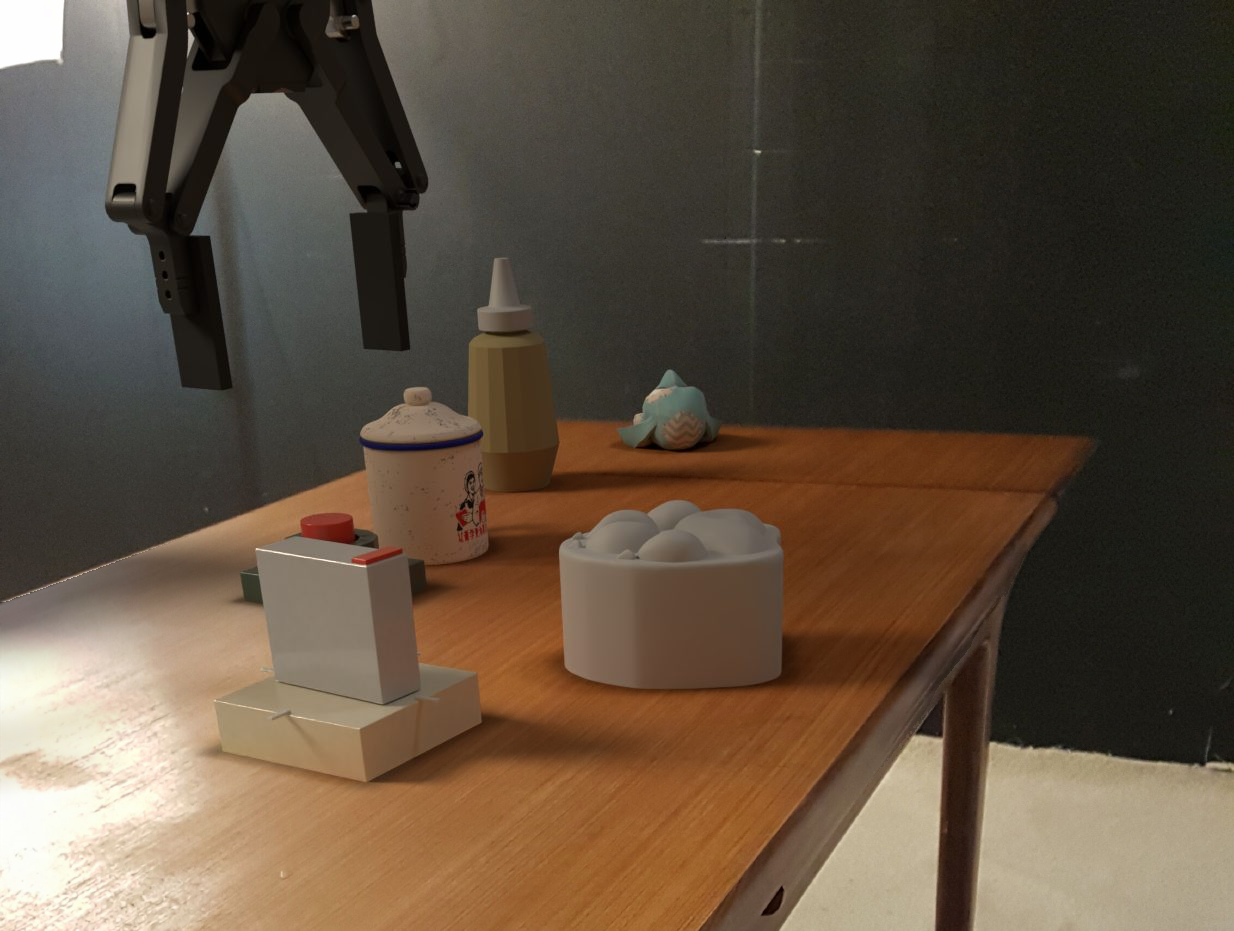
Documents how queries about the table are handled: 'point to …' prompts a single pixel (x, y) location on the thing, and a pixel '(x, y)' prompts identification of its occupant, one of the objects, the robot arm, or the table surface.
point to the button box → (362, 539)
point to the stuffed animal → (672, 418)
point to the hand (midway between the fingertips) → (302, 368)
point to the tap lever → (340, 618)
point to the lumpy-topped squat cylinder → (674, 599)
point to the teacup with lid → (426, 480)
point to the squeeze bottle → (511, 392)
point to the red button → (329, 527)
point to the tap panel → (347, 723)
